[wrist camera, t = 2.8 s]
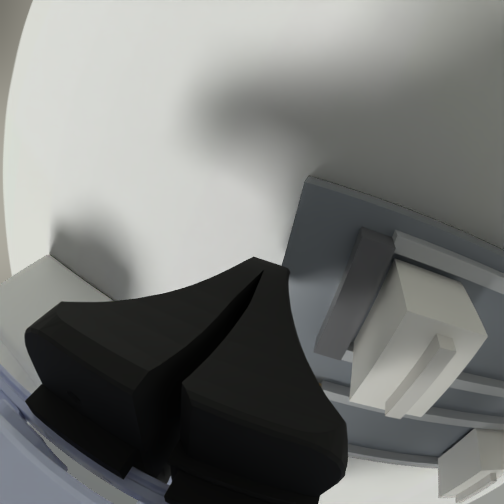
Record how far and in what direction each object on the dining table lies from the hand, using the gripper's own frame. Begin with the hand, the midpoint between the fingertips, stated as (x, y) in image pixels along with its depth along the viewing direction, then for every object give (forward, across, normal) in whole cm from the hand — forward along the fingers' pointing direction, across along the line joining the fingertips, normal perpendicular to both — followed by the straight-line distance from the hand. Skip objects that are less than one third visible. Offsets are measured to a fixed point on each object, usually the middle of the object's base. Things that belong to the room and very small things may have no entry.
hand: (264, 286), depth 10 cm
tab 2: (+1, -16, +8) cm, 18 cm away
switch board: (+3, -10, +4) cm, 11 cm away
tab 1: (+1, -5, 0) cm, 6 cm away
